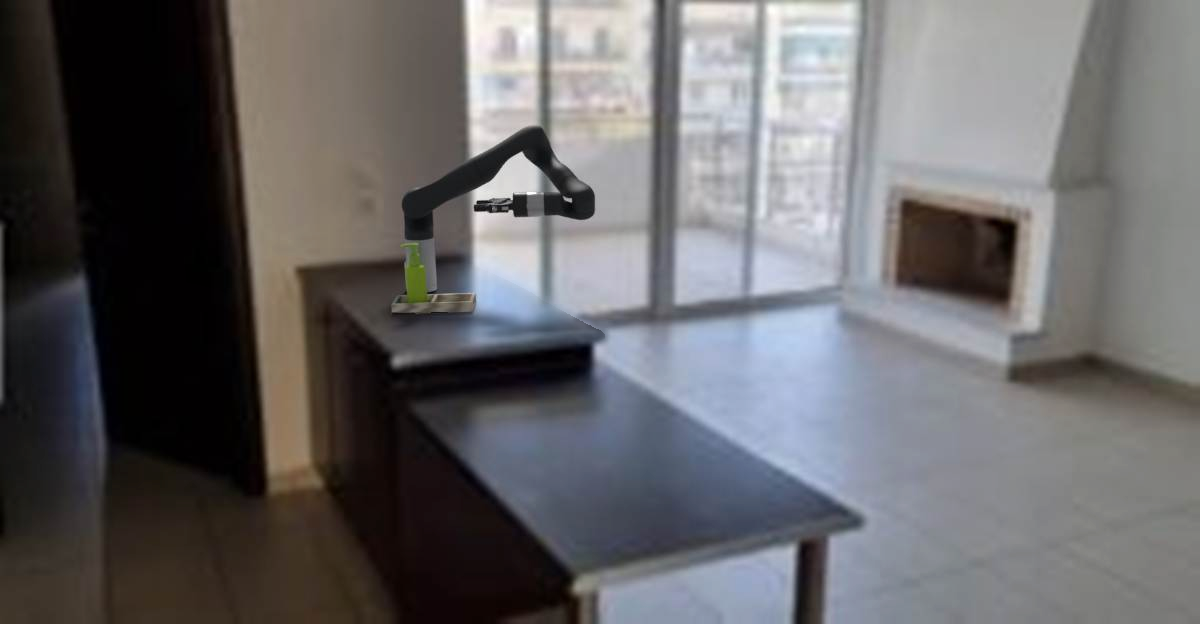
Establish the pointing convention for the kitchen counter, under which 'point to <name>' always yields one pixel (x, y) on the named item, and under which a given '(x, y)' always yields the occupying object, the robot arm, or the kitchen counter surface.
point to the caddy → (437, 303)
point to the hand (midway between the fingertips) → (475, 206)
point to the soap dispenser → (415, 277)
